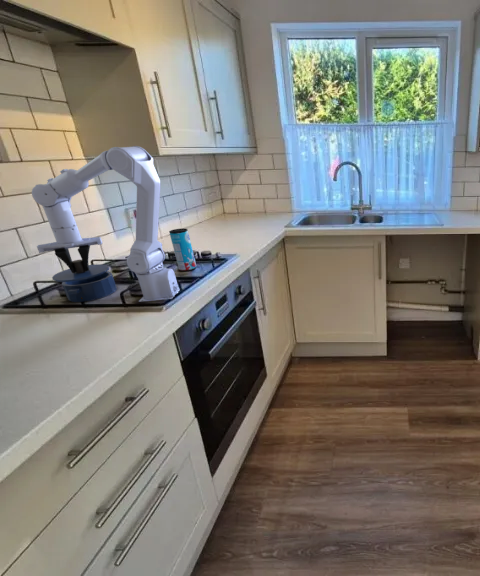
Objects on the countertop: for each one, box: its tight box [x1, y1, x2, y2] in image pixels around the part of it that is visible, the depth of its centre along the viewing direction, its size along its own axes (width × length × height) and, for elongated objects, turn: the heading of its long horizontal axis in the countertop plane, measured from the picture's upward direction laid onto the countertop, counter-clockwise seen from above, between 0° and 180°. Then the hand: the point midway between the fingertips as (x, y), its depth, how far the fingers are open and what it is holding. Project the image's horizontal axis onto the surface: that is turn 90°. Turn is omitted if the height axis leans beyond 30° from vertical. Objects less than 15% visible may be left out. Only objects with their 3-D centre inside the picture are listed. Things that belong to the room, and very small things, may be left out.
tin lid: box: [51, 259, 110, 283], centre depth 109 cm, size 14×14×5 cm
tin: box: [61, 270, 118, 303], centre depth 116 cm, size 13×18×5 cm
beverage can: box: [168, 228, 197, 272], centre depth 133 cm, size 6×6×15 cm
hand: (80, 270), depth 109 cm, fingers closed on tin lid, 2 cm apart
